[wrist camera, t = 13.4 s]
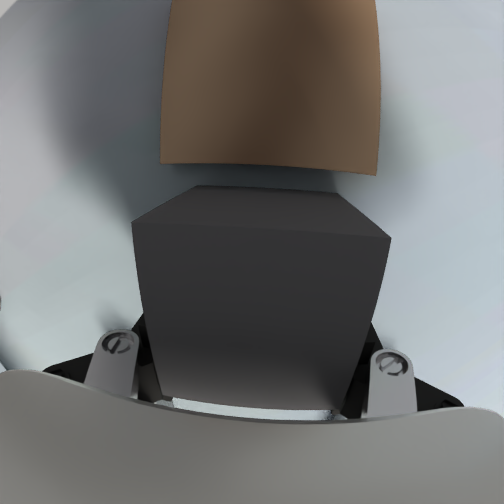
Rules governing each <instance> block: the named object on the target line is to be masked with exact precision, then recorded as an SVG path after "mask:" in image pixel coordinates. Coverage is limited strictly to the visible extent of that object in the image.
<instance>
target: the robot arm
mask: <svg viewBox="0 0 504 504" xmlns="http://www.w3.org/2000/svg"><path fill="white" fill-rule="evenodd" d="M172 399H173V397H170V396H165V395H163V394H162V391H161V387H160V383H159V380H158V376H157V372H156V368H155V364H154V360H153V356H152V351H151V347H150V342H149V338H148V333H147V328H146V323H145V318H144V313H143V314H142V315H141V317H140V318H139V320H138V321H137V322H136V324H135V325H134V327H133V328H132V329H131V331H130V330H125V329H118V330H113V331H109V332H108V333H106V334H104V335H103V336H102V337H101V338H100V339H99V341H98V343H97V345H96V348H95V351H94V353H92V354H88V355H85V356H82V357H79V358H75V359H72V360H69V361H65V362H62V363H59V364H55V365H52V366H50V367H47V368H46V369H45V370H43V371H42V372H41V371H35V370H23V369H16V370H8V371H5V372H2V373H0V504H504V418H503V417H502V416H501V415H499V414H498V413H496V412H494V411H491V410H488V409H484V408H476V407H464V405H463V404H462V403H461V401H460V400H458V399H457V398H455V397H453V396H451V395H449V394H447V393H445V392H443V391H441V390H439V389H437V388H435V387H433V386H431V385H429V384H427V383H425V382H423V381H421V380H419V379H417V378H416V377H414V371H413V365H412V362H411V360H410V359H409V358H408V357H407V356H406V355H405V354H403V353H401V352H399V351H397V350H393V349H383V347H382V345H381V343H380V340H379V338H378V336H377V334H376V331H375V329H374V327H373V325H372V323H371V324H370V327H369V331H368V334H367V337H366V340H365V343H364V346H363V349H362V352H361V355H360V358H359V361H358V363H357V366H356V369H355V372H354V374H353V377H352V380H351V382H350V385H349V387H348V390H347V392H346V395H345V397H344V400H343V402H342V404H341V407H340V409H337V410H331V414H332V415H338V414H341V415H342V416H344V417H346V418H345V419H344V420H270V419H255V418H243V417H233V416H224V415H216V414H209V413H202V412H196V411H190V410H184V409H179V408H173V407H168V406H164V405H159V404H157V401H160V400H165V401H170V402H171V401H172Z"/></svg>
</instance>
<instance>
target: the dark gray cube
mask: <svg viewBox="0 0 504 504" xmlns="http://www.w3.org/2000/svg"><path fill="white" fill-rule="evenodd" d="M131 223H132V234H133V244H134V253H135V261H136V269H137V276H138V283H139V289H140V295H141V301H142V307H143V312H144V318H145V323H146V328H147V333H148V338H149V342H150V347H151V351H152V356H153V360H154V364H155V368H156V372H157V376H158V380H159V383H160V387H161V391H162V394H163V395H165V396H170V397H175V398H181V399H186V400H192V401H199V402H205V403H212V404H220V405H228V406H238V407H249V408H262V409H281V410H337V409H340V407H341V404H342V402H343V400H344V397H345V395H346V392H347V390H348V387H349V385H350V382H351V380H352V377H353V374H354V372H355V369H356V366H357V363H358V361H359V358H360V355H361V352H362V349H363V346H364V343H365V340H366V337H367V334H368V331H369V327H370V324H371V321H372V317H373V314H374V310H375V307H376V303H377V299H378V296H379V292H380V288H381V284H382V280H383V276H384V271H385V267H386V263H387V258H388V253H389V248H390V243H391V237H390V236H389V235H387V234H386V233H385V232H384V231H383V230H382V229H381V228H379V227H378V226H377V225H376V224H375V223H373V222H372V221H371V220H370V219H369V218H368V217H366V216H365V215H364V214H363V213H361V212H360V211H359V210H358V209H357V208H355V207H354V206H353V205H352V204H350V203H349V202H348V201H347V200H345V199H344V198H343V197H341V196H340V195H339V194H337V193H327V192H316V191H304V190H290V189H275V188H257V187H235V186H195V187H194V188H192V189H190V190H188V191H186V192H184V193H182V194H180V195H178V196H177V197H175V198H173V199H171V200H169V201H168V202H166V203H164V204H162V205H160V206H159V207H157V208H155V209H153V210H152V211H150V212H148V213H146V214H145V215H143V216H141V217H139V218H138V219H136V220H134V221H133V222H131Z"/></svg>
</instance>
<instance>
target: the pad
mask: <svg viewBox="0 0 504 504" xmlns="http://www.w3.org/2000/svg"><path fill="white" fill-rule="evenodd" d="M380 100H381V80H380V50H379V35H378V23H377V13H376V5H375V0H172V4H171V11H170V17H169V25H168V32H167V41H166V50H165V60H164V71H163V84H162V101H161V126H160V164H175V163H227V164H257V165H275V166H290V167H303V168H314V169H325V170H334V171H343V172H351V173H359V174H366V175H373V176H376V172H377V161H378V148H379V131H380Z"/></svg>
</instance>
